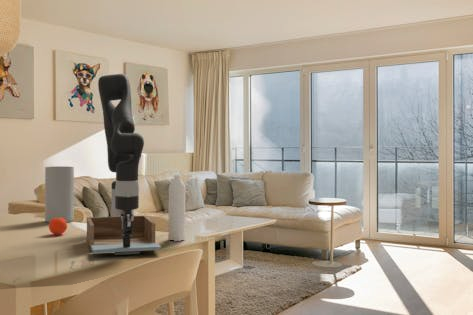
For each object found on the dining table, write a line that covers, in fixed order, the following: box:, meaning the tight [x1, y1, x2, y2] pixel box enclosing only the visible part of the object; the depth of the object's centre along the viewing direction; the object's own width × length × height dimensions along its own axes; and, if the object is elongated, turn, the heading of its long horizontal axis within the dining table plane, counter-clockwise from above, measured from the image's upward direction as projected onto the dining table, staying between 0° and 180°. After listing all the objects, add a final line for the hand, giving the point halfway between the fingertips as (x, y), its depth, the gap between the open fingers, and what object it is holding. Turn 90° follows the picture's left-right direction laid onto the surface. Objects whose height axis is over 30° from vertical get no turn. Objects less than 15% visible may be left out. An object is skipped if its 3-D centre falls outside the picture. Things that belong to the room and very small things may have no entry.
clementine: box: [48, 217, 68, 236], centre depth 222 cm, size 8×7×7 cm
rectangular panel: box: [91, 241, 162, 256], centre depth 185 cm, size 2×22×10 cm
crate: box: [86, 215, 156, 253], centre depth 201 cm, size 20×22×9 cm
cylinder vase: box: [44, 165, 75, 224], centre depth 257 cm, size 12×12×25 cm
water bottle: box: [167, 173, 192, 242], centre depth 212 cm, size 9×6×25 cm
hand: (126, 247), depth 182 cm, fingers closed
